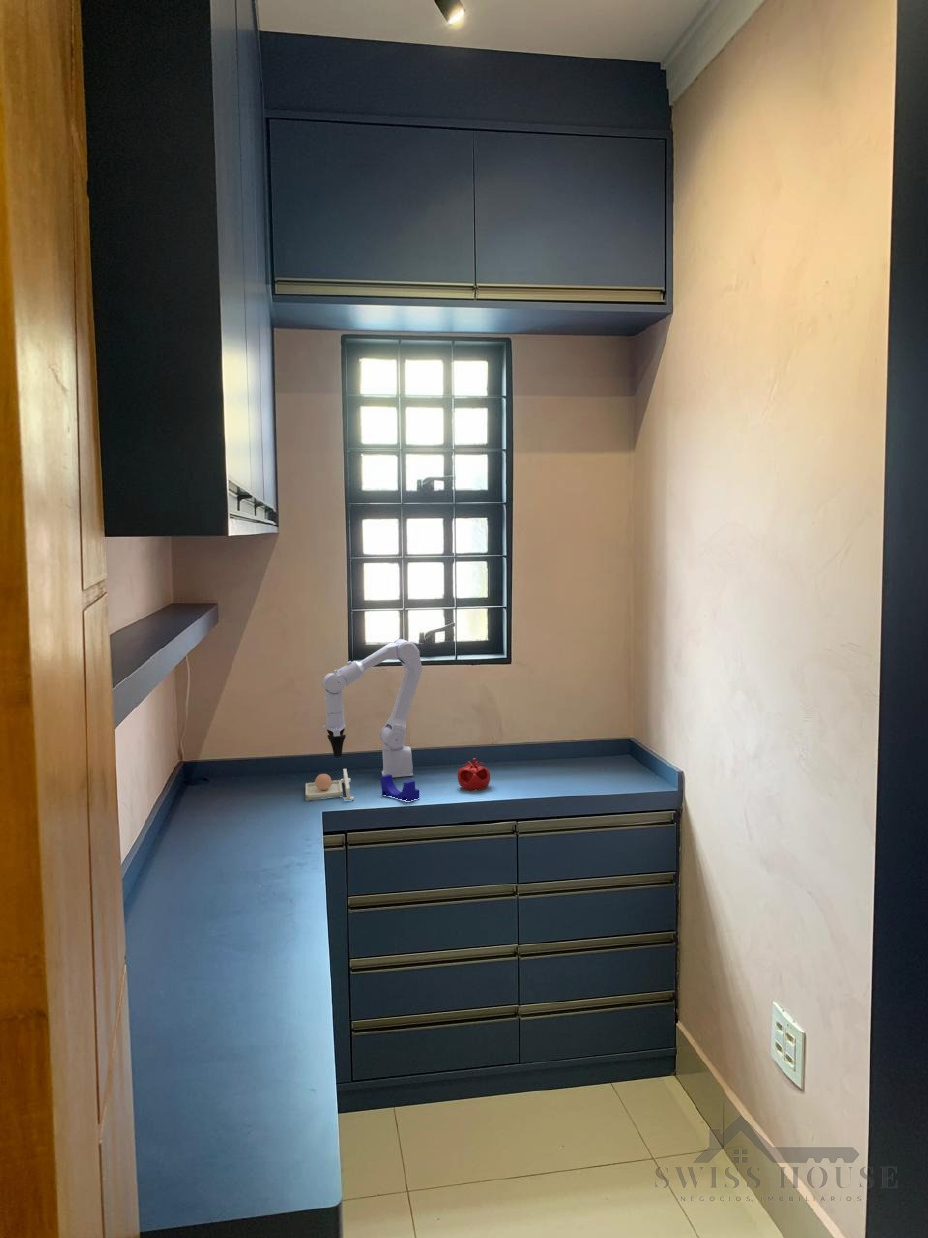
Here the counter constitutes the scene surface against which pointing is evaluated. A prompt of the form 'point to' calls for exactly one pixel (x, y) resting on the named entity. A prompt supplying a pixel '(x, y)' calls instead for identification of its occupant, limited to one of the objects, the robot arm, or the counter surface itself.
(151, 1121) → the counter surface
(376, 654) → the robot arm
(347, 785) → the low wall
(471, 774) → the red carved pumpkin
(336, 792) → the resting dish
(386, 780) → the cable clip
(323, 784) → the ball
